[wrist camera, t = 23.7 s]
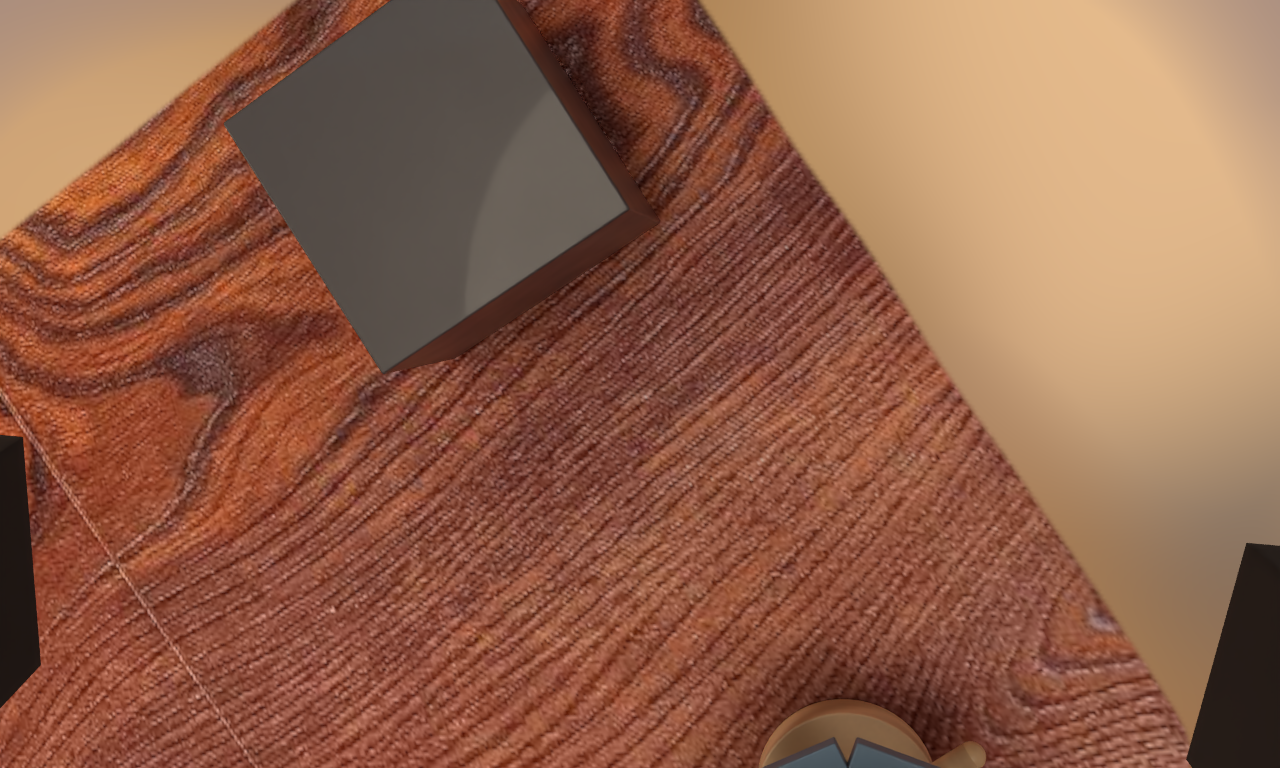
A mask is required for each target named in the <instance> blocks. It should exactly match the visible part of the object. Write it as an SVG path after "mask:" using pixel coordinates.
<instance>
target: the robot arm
mask: <svg viewBox="0 0 1280 768" xmlns="http://www.w3.org/2000/svg"><path fill="white" fill-rule="evenodd" d="M40 665H41V661H40V648H39V636H38V623H37V610H36V598H35V585H34V573H33V560H32V547H31V535H30V522H29V509H28V497H27V484H26V472H25V459H24V446H23V437H17V436H6V435H0V708H1V707H2V706H3V705H4V704H5V703H6V701H7V700H8V699H9V698H10V697H11V696H12V695H13V694H14V693H15V692H16V691H17V690H18V689H19V688H20V687H21V685H22V684H23V683H24V682H25V681H26V680H27V679H28V678H29V677H30V676H31V675H32V674H33V673H34V672H35V671H36V670H37V668H38V667H39V666H40ZM1186 760H1187V761H1188V763H1189V764H1190V765H1191V767H1192V768H1280V546H1275V545H1264V544H1252V543H1246V547H1245V551H1244V554H1243V557H1242V561H1241V565H1240V568H1239V572H1238V575H1237V580H1236V583H1235V586H1234V590H1233V594H1232V597H1231V601H1230V604H1229V608H1228V611H1227V615H1226V619H1225V622H1224V626H1223V629H1222V633H1221V637H1220V640H1219V644H1218V647H1217V651H1216V655H1215V658H1214V662H1213V665H1212V669H1211V673H1210V676H1209V680H1208V683H1207V687H1206V691H1205V694H1204V698H1203V702H1202V705H1201V709H1200V712H1199V716H1198V719H1197V723H1196V727H1195V730H1194V734H1193V737H1192V741H1191V745H1190V748H1189V752H1188V755H1187V759H1186Z"/></svg>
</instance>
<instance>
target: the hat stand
mask: <svg viewBox="0 0 1280 768" xmlns="http://www.w3.org/2000/svg"><path fill="white" fill-rule="evenodd" d="M832 737H835V739H836V741H837V743H838V745H839V747H840V749H841V751H842V753H843V755H844V757H845V759H846V761H847V762H848V759H849V756H850V754H851V751H852V748H853V745H854V743H855V740H856V738H857V737H859V738H862V739H865V740H867V741H870V742H873V743H876V744H878V745H881V746H884V747H886V748H889V749H892V750H895V751H897V752H900V753H903V754H905V755H908V756H911V757H914V758H916V759H919V760H922V761H924V762H927V763H930V764H932V765H935V766H938V767H941V768H982V767H983V765H984V764H985V761H986V753H985V750H984V749H983V747H982V746H981V745H980V744H978V743H976V742H973V741H967V742H964V743H962V744H961V745H959V746H958V747H956V748H955V749H953V750H951V751H950V752H948V753H947V754H945V755H943V756H942V757H940V758H939V759H937V760H935V761H934V762H932V759H931V757H930V755H929V753H928V750H927V748H926V747H925V745H924V743H923V742H922V740H921V739H920V737H919V736H918V735H917V734H916V733H915V731H914V730H913V729H912V728H911V727H910V726H909V725H908V724H907V723H906V722H905V721H903V720H902V719H901V718H899V717H898V716H897V715H895V714H894V713H892V712H890V711H888V710H886V709H884V708H882V707H880V706H877V705H875V704H872V703H868V702H864V701H860V700H852V699H834V700H826V701H822V702H818V703H814V704H812V705H809V706H807V707H804V708H802V709H800V710H799V711H797V712H795V713H794V714H792V715H791V716H790V717H788V718H787V719H786V720H784V721H783V722H782V723H781V724H780V725H779V726H778V727H777V729H776V730H775V731H774V732H773V734H772V735H771V736H770V738H769V740H768V742H767V743H766V745H765V747H764V750H763V753H762V755H761V758H760V763H759V767H758V768H762V767H764V766H767V765H769V764H771V763H774V762H776V761H778V760H781V759H783V758H785V757H788V756H790V755H792V754H795V753H797V752H799V751H802V750H804V749H806V748H809V747H811V746H814V745H816V744H818V743H821V742H823V741H825V740H828V739H830V738H832Z"/></svg>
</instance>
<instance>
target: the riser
mask: <svg viewBox="0 0 1280 768" xmlns="http://www.w3.org/2000/svg"><path fill="white" fill-rule="evenodd" d="M224 126H225V127H226V129H227V131H228V132H229V134H230V135H231V137H232V138H233V140H234V142H235V143H236V145H237V146H238V148H239V149H240V151H241V153H242V154H243V156H244V157H245V159H246V160H247V162H248V164H249V165H250V167H251V168H252V170H253V171H254V173H255V175H256V176H257V178H258V179H259V181H260V182H261V184H262V186H263V187H264V189H265V190H266V192H267V193H268V195H269V197H270V198H271V200H272V201H273V203H274V204H275V206H276V208H277V209H278V211H279V212H280V214H281V215H282V217H283V219H284V220H285V222H286V223H287V225H288V226H289V228H290V230H291V231H292V233H293V234H294V236H295V237H296V239H297V241H298V242H299V244H300V245H301V247H302V248H303V250H304V252H305V253H306V255H307V256H308V258H309V259H310V261H311V262H312V264H313V266H314V267H315V269H316V270H317V272H318V273H319V275H320V277H321V278H322V280H323V281H324V283H325V284H326V286H327V288H328V289H329V291H330V292H331V294H332V295H333V297H334V299H335V300H336V302H337V303H338V305H339V306H340V308H341V310H342V311H343V313H344V314H345V316H346V317H347V319H348V321H349V322H350V324H351V325H352V327H353V328H354V330H355V332H356V333H357V335H358V336H359V338H360V339H361V341H362V343H363V344H364V346H365V347H366V349H367V350H368V352H369V354H370V355H371V357H372V358H373V360H374V361H375V363H376V365H377V366H378V368H379V369H380V371H381V372H382V373H383V374H386V373H391V372H395V371H400V370H404V369H409V368H413V367H418V366H423V365H427V364H432V363H436V362H441V361H446V360H450V359H455V358H456V357H458V356H459V355H461V354H462V353H464V352H466V351H467V350H469V349H470V348H472V347H473V346H475V345H476V344H478V343H479V342H481V341H482V340H484V339H485V338H487V337H488V336H490V335H491V334H493V333H494V332H496V331H497V330H499V329H500V328H502V327H503V326H505V325H506V324H508V323H509V322H511V321H512V320H514V319H515V318H517V317H518V316H520V315H521V314H523V313H524V312H526V311H527V310H529V309H530V308H532V307H533V306H535V305H536V304H538V303H539V302H541V301H542V300H544V299H545V298H547V297H548V296H550V295H552V294H553V293H555V292H556V291H558V290H559V289H561V288H562V287H564V286H565V285H567V284H568V283H570V282H571V281H573V280H574V279H576V278H577V277H579V276H580V275H582V274H583V273H585V272H586V271H588V270H589V269H591V268H592V267H594V266H595V265H597V264H598V263H600V262H601V261H603V260H604V259H606V258H607V257H609V256H610V255H612V254H613V253H615V252H616V251H618V250H619V249H621V248H622V247H624V246H625V245H627V244H628V243H630V242H631V241H633V240H634V239H636V238H638V237H639V236H641V235H642V234H644V233H645V232H647V231H648V230H650V229H651V228H653V227H654V226H656V225H657V224H659V222H660V221H659V219H658V217H657V216H656V214H655V213H654V211H653V209H652V208H651V206H650V205H649V203H648V202H647V200H646V198H645V197H644V195H643V194H642V192H641V191H640V189H639V187H638V186H637V184H636V183H635V181H634V180H633V178H632V176H631V175H630V173H629V172H628V170H627V169H626V167H625V165H624V164H623V162H622V161H621V159H620V158H619V156H618V154H617V153H616V151H615V150H614V148H613V147H612V145H611V143H610V142H609V140H608V139H607V137H606V136H605V134H604V132H603V131H602V129H601V128H600V126H599V125H598V123H597V121H596V120H595V118H594V117H593V115H592V114H591V112H590V110H589V109H588V107H587V106H586V104H585V103H584V101H583V99H582V98H581V96H580V95H579V93H578V92H577V90H576V88H575V87H574V85H573V84H572V82H571V81H570V79H569V78H568V76H567V74H566V73H565V71H564V70H563V68H562V67H561V65H560V63H559V62H558V60H557V59H556V57H555V56H554V54H553V52H552V51H551V49H550V48H549V46H548V45H547V43H546V41H545V40H544V38H543V37H542V35H541V34H540V32H539V30H538V29H537V27H536V26H535V24H534V23H533V21H532V19H531V18H530V16H529V15H528V13H527V12H526V10H525V8H524V7H523V6H522V5H521V4H520V3H519V2H518V1H517V0H390V1H389V2H388V3H386V4H385V5H383V6H382V7H381V8H379V9H378V10H377V11H375V12H374V13H373V14H371V15H370V16H368V17H367V18H366V19H364V20H363V21H362V22H360V23H359V24H358V25H356V26H355V27H354V28H352V29H351V30H349V31H348V32H347V33H345V34H344V35H343V36H341V37H340V38H339V39H337V40H336V41H334V42H333V43H332V44H330V45H329V46H328V47H326V48H325V49H324V50H322V51H321V52H320V53H318V54H317V55H315V56H314V57H313V58H311V59H310V60H309V61H307V62H306V63H305V64H303V65H302V66H300V67H299V68H298V69H296V70H295V71H294V72H292V73H291V74H290V75H288V76H287V77H286V78H284V79H283V80H281V81H280V82H279V83H277V84H276V85H275V86H273V87H272V88H271V89H269V90H268V91H266V92H265V93H264V94H262V95H261V96H260V97H258V98H257V99H256V100H254V101H253V102H251V103H250V104H249V105H247V106H246V107H245V108H243V109H242V110H241V111H239V112H238V113H237V114H235V115H234V116H232V117H231V118H230V119H228V120H227V121H226V122H224Z"/></svg>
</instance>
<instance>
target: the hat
mask: <svg viewBox="0 0 1280 768" xmlns="http://www.w3.org/2000/svg"><path fill="white" fill-rule="evenodd" d="M762 768H941V767H938V766H935V765H932V764H930V763H927V762H924V761H922V760H919V759H916V758H914V757H911V756H908V755H905V754H903V753H900V752H897V751H895V750H892V749H889V748H886V747H884V746H881V745H878V744H876V743H873V742H870V741H867V740H865V739H862V738H859V737H857V738H856V740H855V743H854V745H853V748H852V751H851V754H850V756H849V759H848V762H847V761H846V759H845V757H844V755H843V753H842V751H841V749H840V747H839V745H838V743H837V741H836V739H835V737H832V738H830V739H828V740H825V741H823V742H821V743H818V744H816V745H814V746H811V747H809V748H806V749H804V750H802V751H799V752H797V753H795V754H792V755H790V756H788V757H785V758H783V759H781V760H778V761H776V762H774V763H771V764H769V765H767V766H764V767H762Z"/></svg>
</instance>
